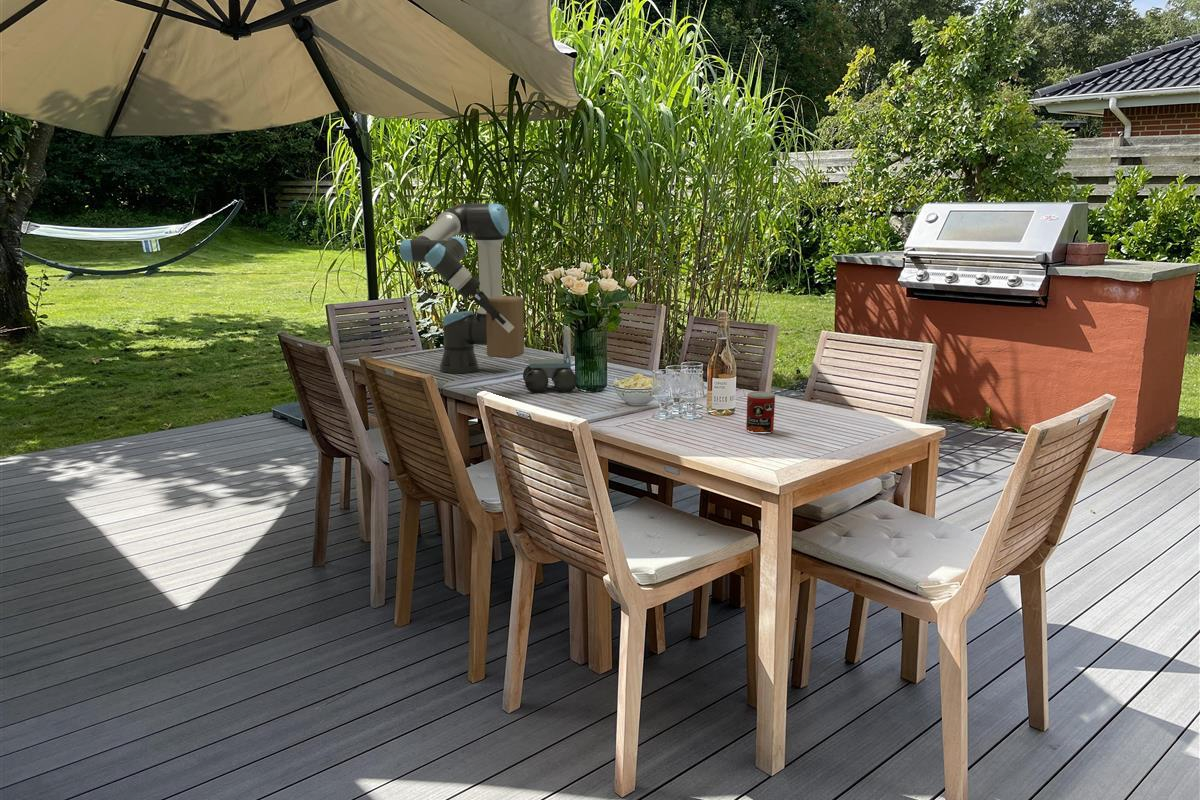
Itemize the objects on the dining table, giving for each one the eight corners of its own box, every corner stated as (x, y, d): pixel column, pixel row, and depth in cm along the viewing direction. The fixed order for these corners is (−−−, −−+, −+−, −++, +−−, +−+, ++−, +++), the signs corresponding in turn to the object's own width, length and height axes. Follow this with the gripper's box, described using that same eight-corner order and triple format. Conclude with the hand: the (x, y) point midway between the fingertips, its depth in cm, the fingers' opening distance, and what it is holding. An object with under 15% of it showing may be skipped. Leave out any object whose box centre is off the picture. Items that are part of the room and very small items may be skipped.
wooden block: (485, 357, 310) (484, 298, 306) (498, 353, 320) (497, 295, 315) (512, 359, 307) (512, 299, 303) (525, 354, 316) (524, 296, 312)
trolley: (522, 386, 331) (522, 317, 326) (572, 385, 333) (572, 316, 328) (525, 393, 317) (524, 321, 312) (577, 392, 319) (577, 321, 314)
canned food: (743, 433, 260) (745, 395, 258) (749, 427, 267) (750, 390, 265) (770, 435, 257) (772, 397, 255) (775, 429, 265) (777, 392, 262)
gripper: (457, 287, 319) (501, 330, 324) (456, 294, 295) (504, 340, 300) (472, 272, 318) (516, 315, 323) (472, 277, 294) (520, 324, 299)
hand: (510, 327), depth 312 cm, fingers closed on wooden block, 13 cm apart
